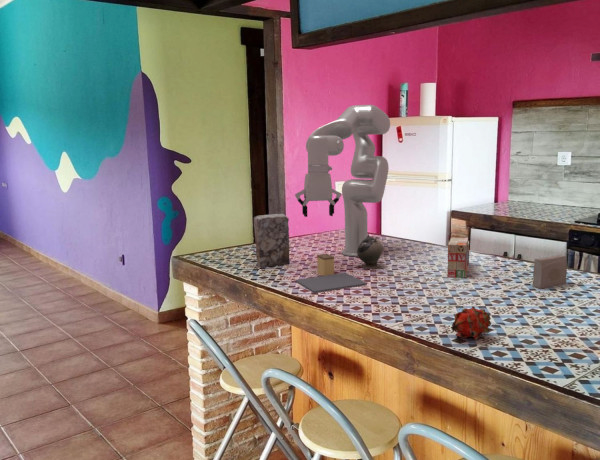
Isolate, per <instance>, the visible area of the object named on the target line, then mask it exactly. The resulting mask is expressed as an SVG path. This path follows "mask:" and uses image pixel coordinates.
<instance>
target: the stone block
mask: <svg viewBox="0 0 600 460" xmlns="http://www.w3.org/2000/svg"><path fill="white" fill-rule="evenodd" d="M289 220H290V219H289V217H288V216H287V215H285V214H284V213H273V214H264V215H263V214H261V215H256V216H254V217H253V230H254V239H255V254H256V256H255V257H256V265H257V266H258V267H260V268H267V267H274V266H275V267H276V266H281V265H289V264H290V232H289V231H290V228H289V227H290V226H289Z"/></svg>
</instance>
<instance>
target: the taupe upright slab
mask: <svg viewBox="0 0 600 460" xmlns="http://www.w3.org/2000/svg"><path fill="white" fill-rule="evenodd" d="M567 260H568V259H567V256H566V255H562V254H560V255H559V254H558V255H554V256H553V255H552V256H548V257H540V258H534V262H533V263H534V264H533V271H532V273H533V274H532V277H533V278H532V285H531V286H532V288H535V289H540V290H542V289H548V288H553V287H557V286H558V287H559V286H563V285H566V284H567V272H568V271H567V269H568V268H567V267H568V263H567Z"/></svg>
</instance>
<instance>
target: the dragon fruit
mask: <svg viewBox="0 0 600 460" xmlns="http://www.w3.org/2000/svg"><path fill="white" fill-rule="evenodd" d="M491 325H492V322H491V315H490V313H488V312H486V309H485V308H484V309H483V308H481V309H477V308H476V307H475V306H473V305H471V309H469V308H465V307H464V308H463V309H462V310H461V311H460V312H458V313H455V315H454V321H453V323H452V325H451V330H452V331H453V332H455V333H456V334H455V335H456V338H457V339H458V338H461V339H467V338H469V337H473V339H474V340H475V341H476V340H478V339H479V338H481V337H482V336H483V334H489V333H490V331H491V330H492V328H489V327H490V326H491Z"/></svg>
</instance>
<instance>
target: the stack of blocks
mask: <svg viewBox="0 0 600 460" xmlns="http://www.w3.org/2000/svg"><path fill="white" fill-rule="evenodd" d="M469 266H470V240H469V238H468V237H454V236H453V237H450V240H449V241H448V244H447V274H446V275H447V276H446V277H447V278H450V279H451V278H452V279H454V278H456V279H466V276H467V273H468V269H469Z"/></svg>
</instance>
